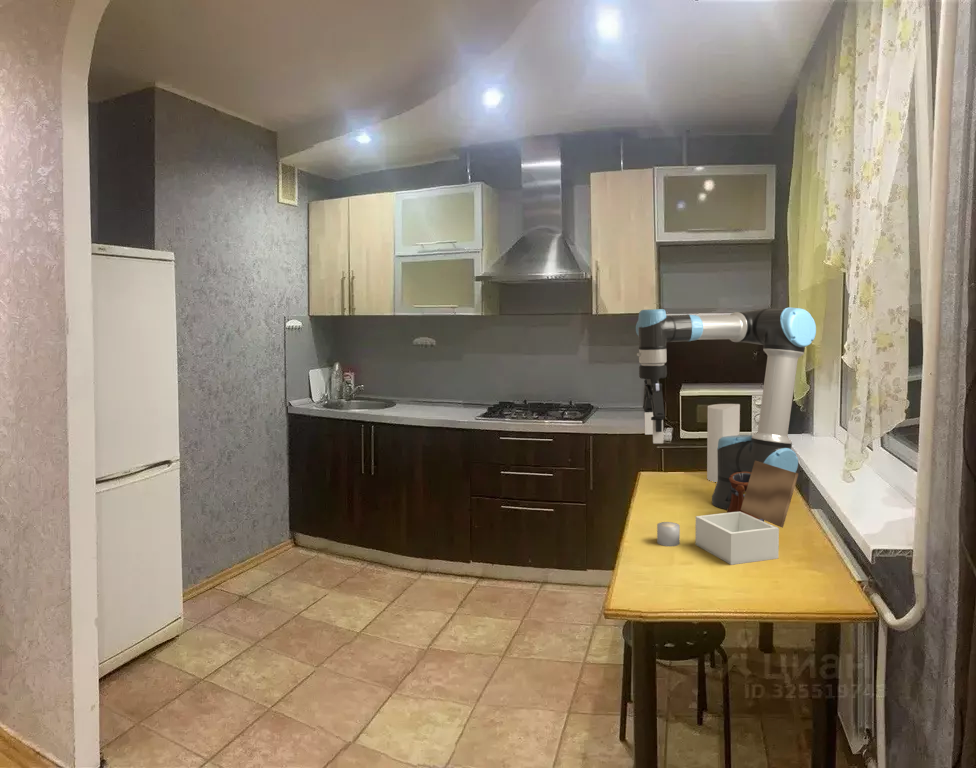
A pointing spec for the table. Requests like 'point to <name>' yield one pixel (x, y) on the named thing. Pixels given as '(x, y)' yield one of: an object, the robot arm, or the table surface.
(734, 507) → the mug
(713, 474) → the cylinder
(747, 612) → the table surface
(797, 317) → the robot arm
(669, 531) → the grey squat drum
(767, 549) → the box
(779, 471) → the lid
